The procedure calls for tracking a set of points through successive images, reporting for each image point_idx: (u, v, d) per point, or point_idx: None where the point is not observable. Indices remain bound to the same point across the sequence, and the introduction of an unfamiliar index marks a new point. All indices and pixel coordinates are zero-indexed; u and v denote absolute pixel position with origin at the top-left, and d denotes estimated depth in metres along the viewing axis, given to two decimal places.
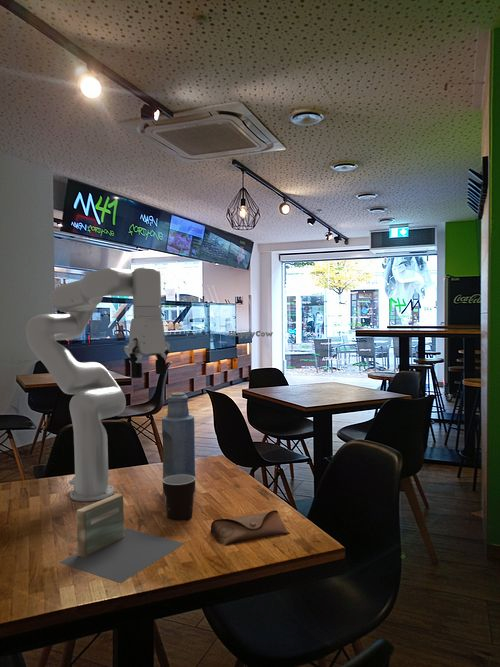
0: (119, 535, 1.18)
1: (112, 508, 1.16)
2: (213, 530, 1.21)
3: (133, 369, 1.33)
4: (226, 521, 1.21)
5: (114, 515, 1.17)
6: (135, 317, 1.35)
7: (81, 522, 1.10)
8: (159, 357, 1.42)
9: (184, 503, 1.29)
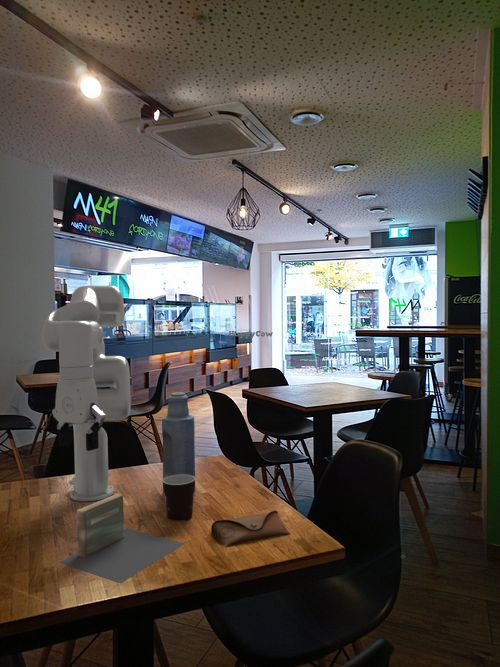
0: (119, 535, 1.18)
1: (112, 508, 1.16)
2: (213, 531, 1.20)
3: (94, 440, 1.15)
4: (227, 522, 1.20)
5: (114, 515, 1.17)
6: (83, 379, 1.15)
7: (81, 522, 1.10)
8: (64, 426, 1.20)
9: (184, 503, 1.29)
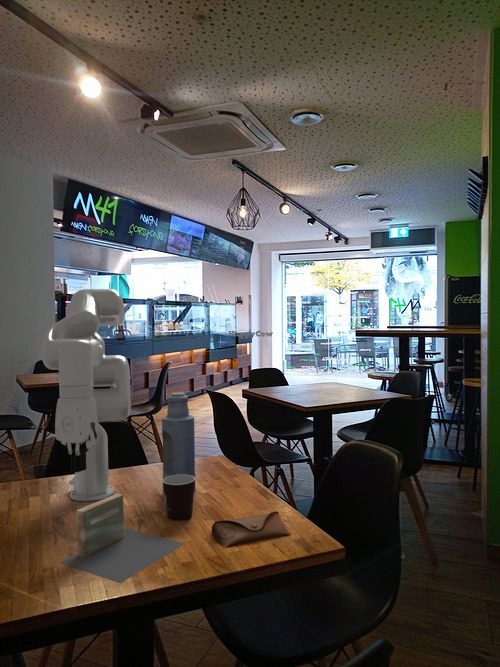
0: (119, 535, 1.18)
1: (112, 508, 1.16)
2: (214, 532, 1.19)
3: (82, 461, 1.17)
4: (227, 523, 1.20)
5: (114, 515, 1.17)
6: (83, 398, 1.15)
7: (81, 522, 1.10)
8: (74, 448, 1.18)
9: (184, 503, 1.29)
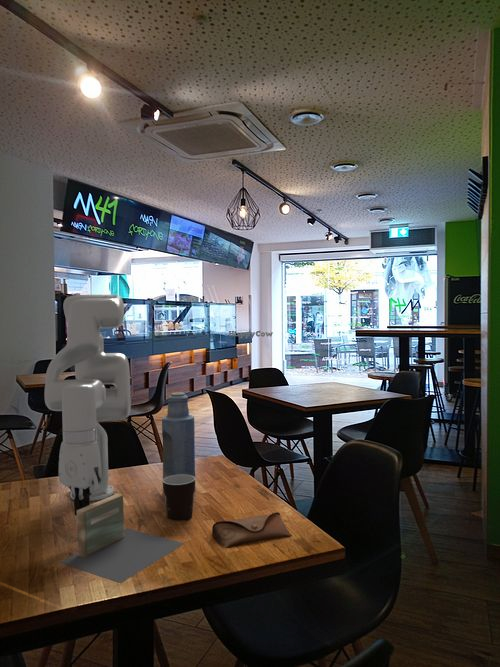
0: (119, 535, 1.18)
1: (112, 508, 1.16)
2: (214, 532, 1.19)
3: (85, 505, 1.17)
4: (227, 523, 1.20)
5: (114, 515, 1.17)
6: (86, 443, 1.15)
7: (81, 522, 1.10)
8: (78, 491, 1.18)
9: (184, 503, 1.29)
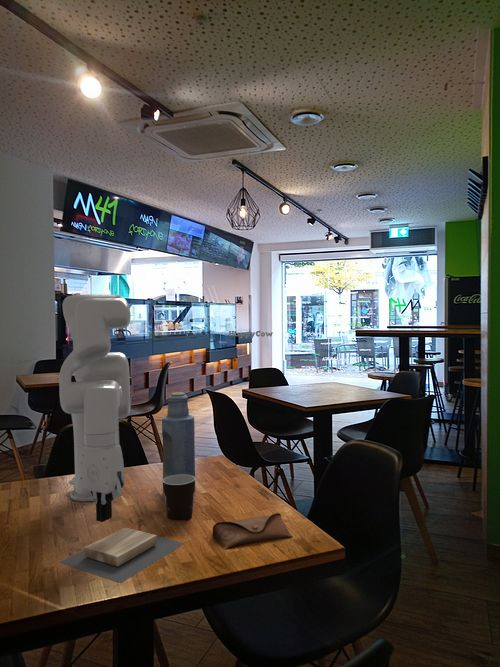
0: None
1: None
2: (215, 533, 1.19)
3: (107, 510, 1.14)
4: (228, 524, 1.19)
5: None
6: (109, 446, 1.11)
7: (109, 561, 1.06)
8: (100, 496, 1.15)
9: (184, 503, 1.29)
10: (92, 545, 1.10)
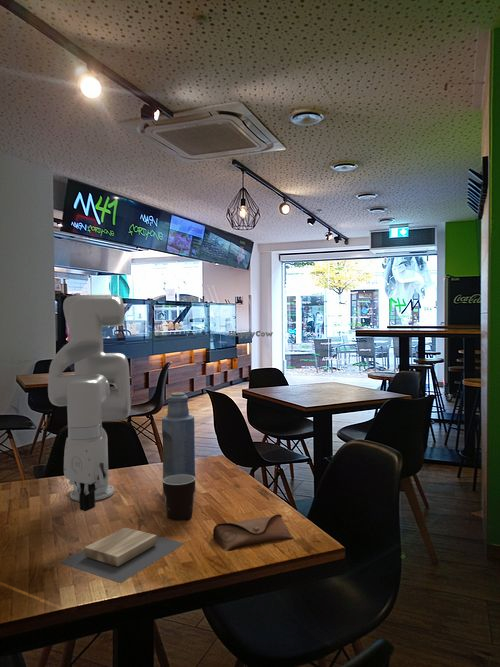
0: None
1: None
2: (215, 535, 1.18)
3: (90, 500, 1.18)
4: (229, 525, 1.18)
5: None
6: (91, 439, 1.15)
7: (109, 561, 1.06)
8: (83, 486, 1.19)
9: (184, 503, 1.29)
10: (92, 545, 1.10)
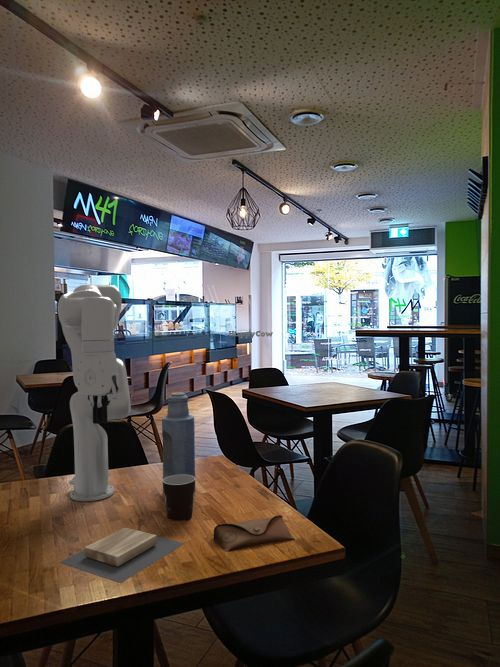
0: None
1: None
2: (216, 535, 1.18)
3: (103, 414, 1.22)
4: (229, 526, 1.18)
5: None
6: (105, 352, 1.20)
7: (109, 561, 1.06)
8: (96, 401, 1.23)
9: (184, 503, 1.29)
10: (92, 545, 1.10)
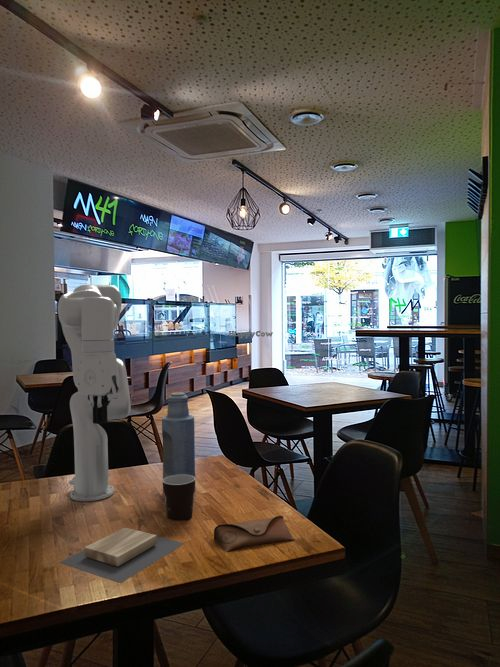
0: None
1: None
2: (216, 535, 1.17)
3: (103, 414, 1.22)
4: (229, 526, 1.18)
5: None
6: (105, 352, 1.20)
7: (109, 561, 1.06)
8: (96, 401, 1.23)
9: (184, 503, 1.29)
10: (92, 545, 1.10)
